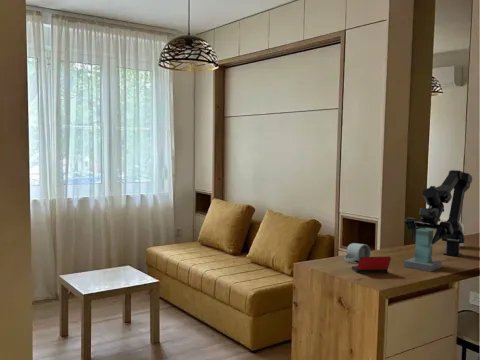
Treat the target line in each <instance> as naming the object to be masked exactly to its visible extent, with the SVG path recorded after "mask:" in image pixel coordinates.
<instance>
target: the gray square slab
mask: <svg viewBox="0 0 480 360" xmlns="http://www.w3.org/2000/svg"><path fill="white" fill-rule="evenodd" d="M403 267H404V268H409V269H414V270H420V271H425V272H434V271H436V270H437V269H440V268H442V260H437V259H432V261H431V262H428V263H424V262H419V261H415V256H414V257H411V258H408V259H405V260H404V261H403Z"/></svg>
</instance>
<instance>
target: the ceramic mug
mask: <svg viewBox="0 0 480 360" xmlns="http://www.w3.org/2000/svg"><path fill="white" fill-rule="evenodd" d="M361 257H371V248H370V246H369V245H368V244H364V243H356V242H352V243H350V244H349V245H348V246H347V248H346V254H345V255H344V257H343V258H344V261H345V262H346V263H354V262H356V261H357V262H359V259H360V258H361Z"/></svg>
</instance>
